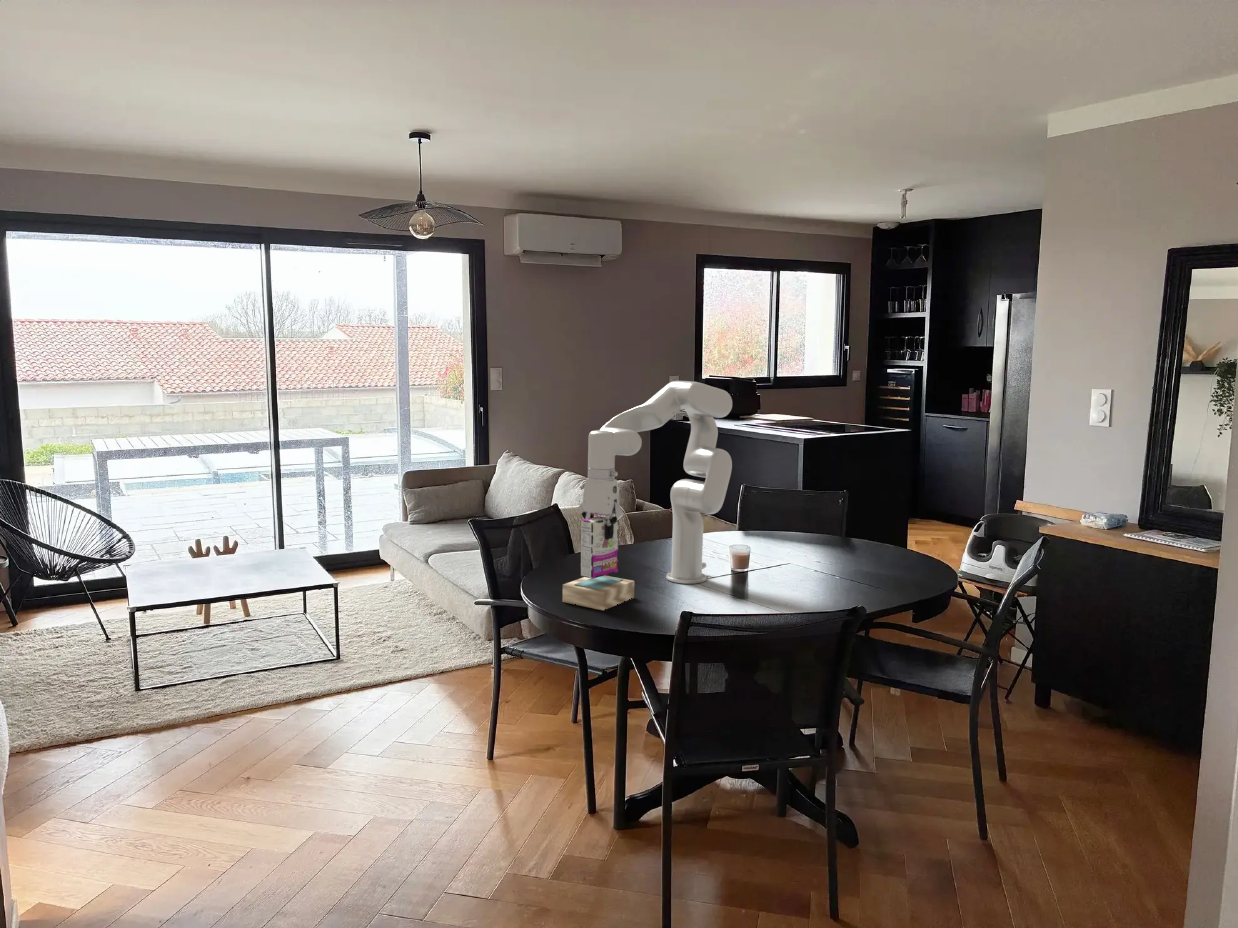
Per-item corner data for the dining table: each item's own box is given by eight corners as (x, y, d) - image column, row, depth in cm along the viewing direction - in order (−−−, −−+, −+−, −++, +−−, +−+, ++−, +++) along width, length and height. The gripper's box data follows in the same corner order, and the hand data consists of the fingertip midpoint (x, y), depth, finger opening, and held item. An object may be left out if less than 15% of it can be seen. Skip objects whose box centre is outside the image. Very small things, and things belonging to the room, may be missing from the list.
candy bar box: (605, 569, 269) (607, 514, 267) (618, 572, 266) (620, 516, 264) (578, 575, 261) (580, 519, 259) (591, 579, 258) (592, 521, 256)
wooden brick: (594, 589, 275) (594, 572, 274) (634, 597, 268) (634, 579, 267) (562, 601, 262) (562, 583, 261) (603, 610, 254) (603, 591, 254)
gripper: (633, 475, 259) (632, 539, 261) (583, 470, 268) (582, 531, 270) (619, 478, 252) (618, 543, 255) (568, 472, 261) (567, 535, 264)
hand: (599, 536), depth 262 cm, fingers closed on candy bar box, 5 cm apart
